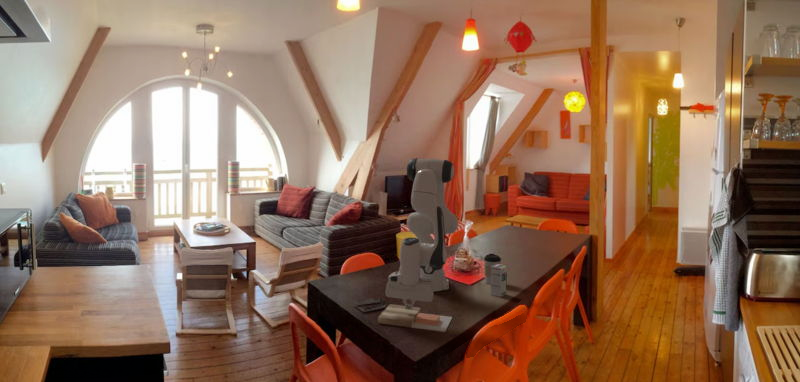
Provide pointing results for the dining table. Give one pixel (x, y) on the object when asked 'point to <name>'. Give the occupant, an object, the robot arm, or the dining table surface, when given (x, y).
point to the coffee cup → (488, 263)
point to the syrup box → (498, 280)
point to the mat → (440, 326)
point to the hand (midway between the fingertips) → (409, 309)
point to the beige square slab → (398, 315)
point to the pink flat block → (427, 319)
